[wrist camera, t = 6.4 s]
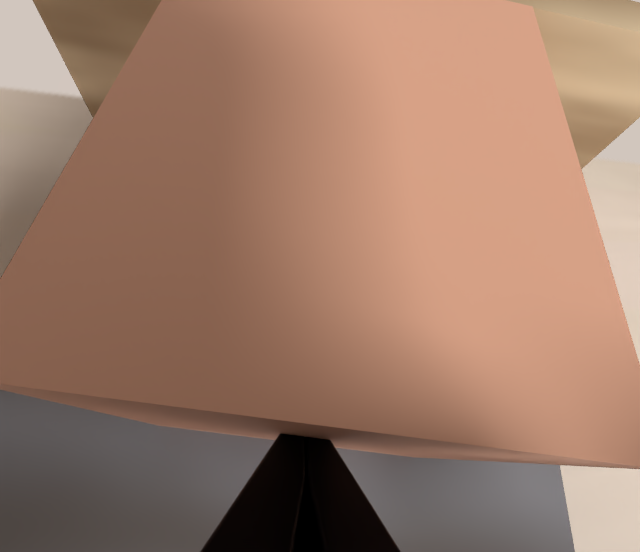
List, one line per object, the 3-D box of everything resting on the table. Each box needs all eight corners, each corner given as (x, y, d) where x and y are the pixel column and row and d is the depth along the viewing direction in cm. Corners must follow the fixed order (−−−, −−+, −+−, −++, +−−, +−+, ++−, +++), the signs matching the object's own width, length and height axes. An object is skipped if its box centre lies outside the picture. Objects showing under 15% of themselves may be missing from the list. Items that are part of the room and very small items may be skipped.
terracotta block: (414, 457, 11) (671, 470, 4) (157, 425, 11) (-58, 377, 4) (411, 206, 16) (532, 6, 9) (231, 173, 15) (202, -70, 8)
